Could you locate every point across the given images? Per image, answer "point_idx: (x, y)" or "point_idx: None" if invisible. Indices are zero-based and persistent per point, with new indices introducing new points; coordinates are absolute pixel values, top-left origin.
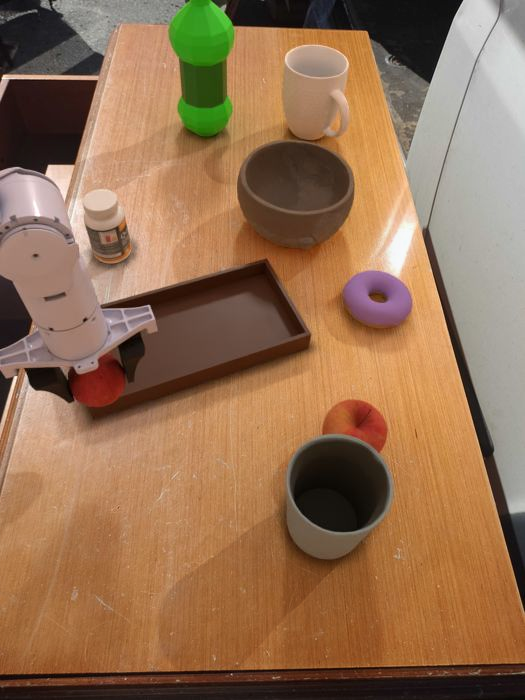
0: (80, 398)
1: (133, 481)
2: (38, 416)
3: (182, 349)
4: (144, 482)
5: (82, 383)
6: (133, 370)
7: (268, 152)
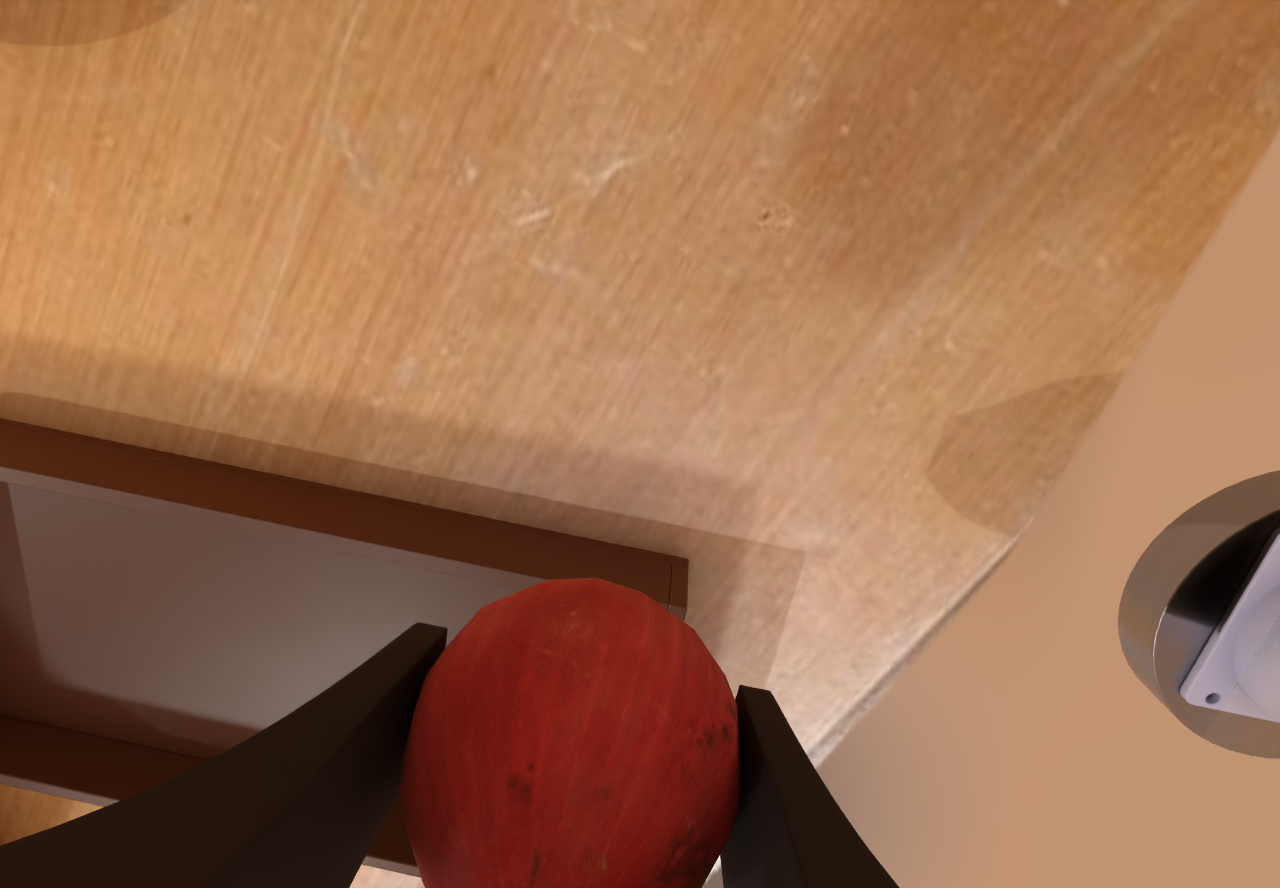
0: (714, 702)
1: (673, 280)
2: (829, 657)
3: (321, 621)
4: (641, 254)
5: (658, 814)
6: (315, 707)
7: None
